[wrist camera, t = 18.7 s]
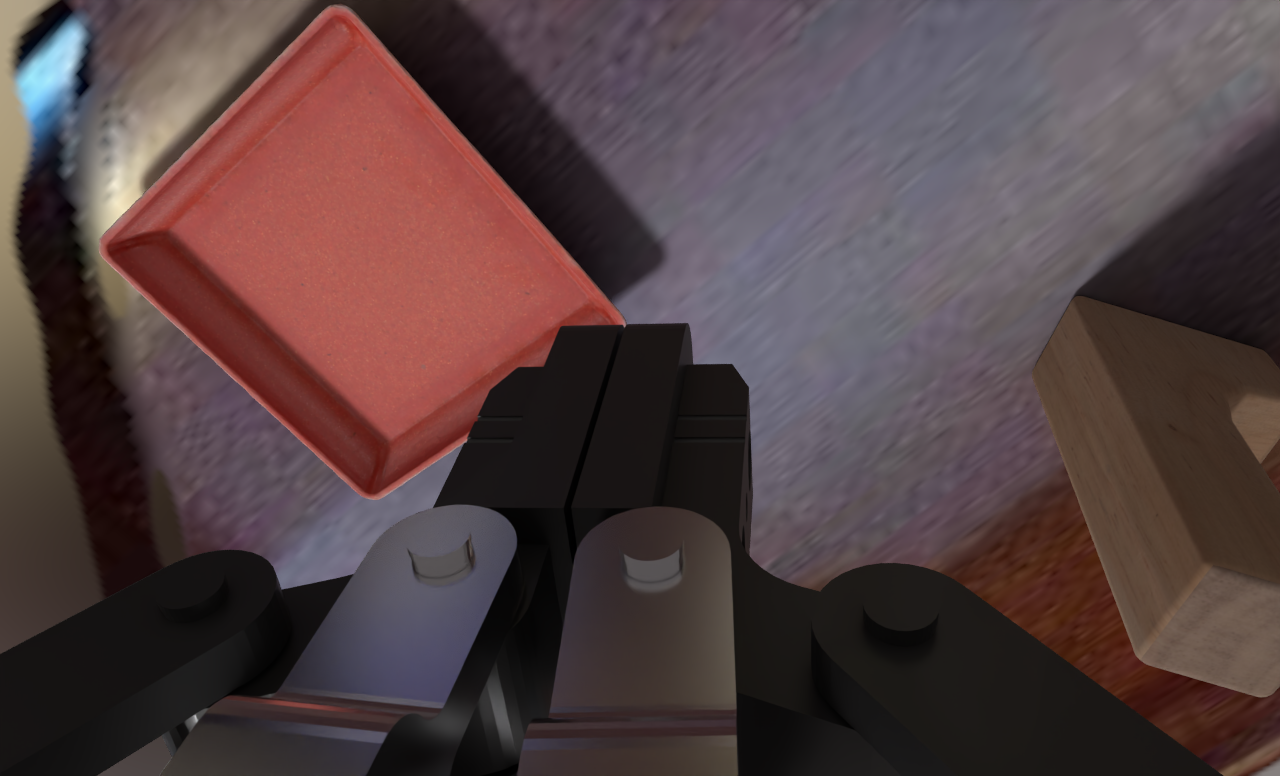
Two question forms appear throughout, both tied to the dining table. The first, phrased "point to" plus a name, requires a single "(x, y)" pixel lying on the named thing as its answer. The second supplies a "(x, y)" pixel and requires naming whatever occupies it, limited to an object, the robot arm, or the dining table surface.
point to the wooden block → (1174, 485)
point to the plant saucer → (352, 258)
